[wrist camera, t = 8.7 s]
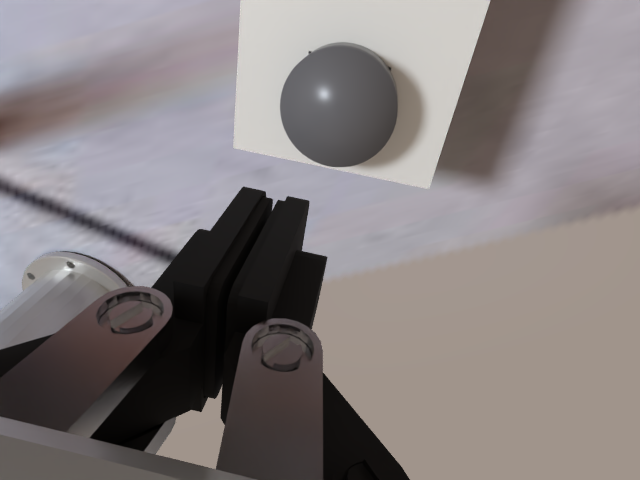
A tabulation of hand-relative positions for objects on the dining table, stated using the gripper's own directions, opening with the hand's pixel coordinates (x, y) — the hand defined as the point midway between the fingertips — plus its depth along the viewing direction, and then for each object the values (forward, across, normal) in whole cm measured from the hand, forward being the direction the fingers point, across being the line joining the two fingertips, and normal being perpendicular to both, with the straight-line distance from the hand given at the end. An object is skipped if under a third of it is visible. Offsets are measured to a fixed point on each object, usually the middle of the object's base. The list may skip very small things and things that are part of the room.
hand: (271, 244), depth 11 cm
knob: (+20, 0, 0) cm, 21 cm away
